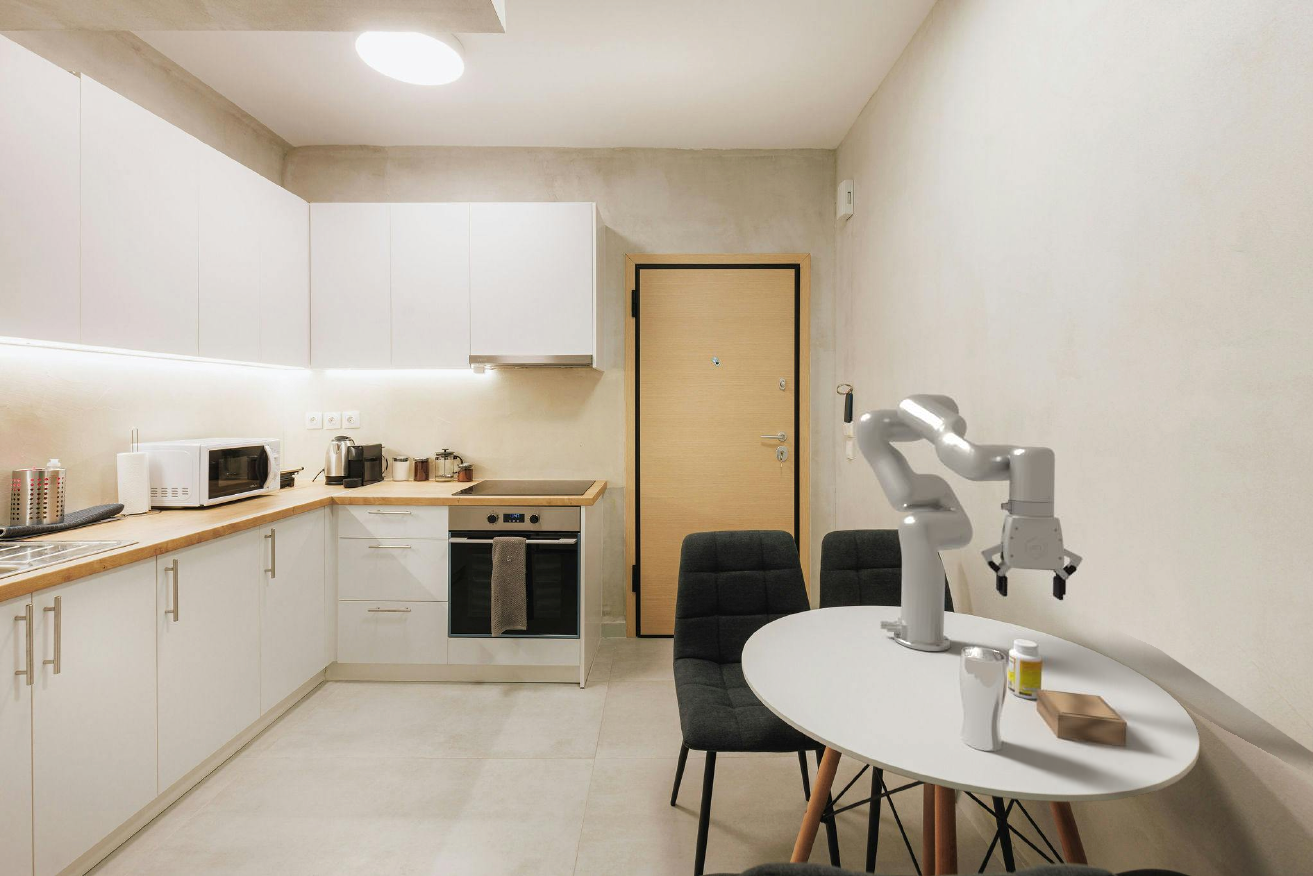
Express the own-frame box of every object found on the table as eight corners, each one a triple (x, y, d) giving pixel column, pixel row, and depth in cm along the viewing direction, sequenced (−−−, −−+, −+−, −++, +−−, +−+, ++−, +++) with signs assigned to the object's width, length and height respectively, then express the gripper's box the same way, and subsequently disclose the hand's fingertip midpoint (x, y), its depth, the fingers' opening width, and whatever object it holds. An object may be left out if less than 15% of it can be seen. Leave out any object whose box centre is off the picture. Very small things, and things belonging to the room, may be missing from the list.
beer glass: (949, 731, 105) (951, 646, 104) (987, 730, 105) (990, 645, 105) (973, 754, 98) (976, 662, 97) (1014, 752, 98) (1017, 661, 98)
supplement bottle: (1047, 697, 118) (1049, 645, 118) (1029, 702, 116) (1030, 649, 115) (1019, 685, 123) (1020, 635, 123) (1001, 690, 121) (1003, 640, 120)
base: (1057, 737, 103) (1058, 713, 103) (1036, 710, 113) (1037, 688, 112) (1125, 746, 100) (1126, 721, 100) (1098, 717, 110) (1099, 695, 110)
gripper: (987, 510, 117) (986, 598, 117) (1090, 514, 113) (1089, 605, 113) (977, 505, 124) (976, 588, 125) (1073, 508, 120) (1072, 594, 120)
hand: (1030, 596), depth 119 cm, fingers open, 9 cm apart
